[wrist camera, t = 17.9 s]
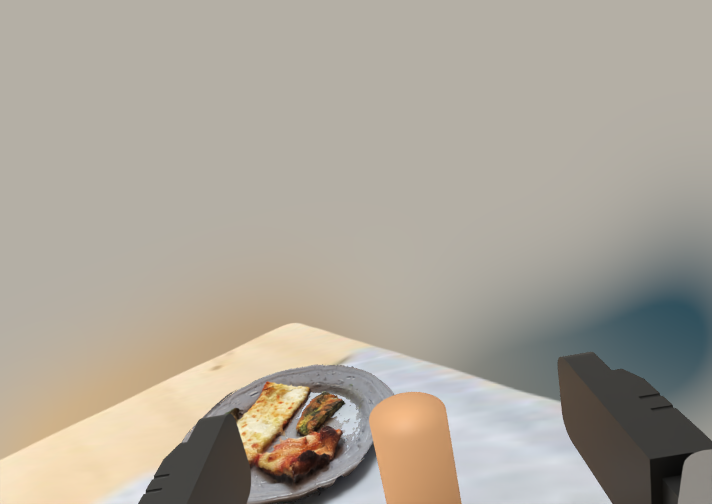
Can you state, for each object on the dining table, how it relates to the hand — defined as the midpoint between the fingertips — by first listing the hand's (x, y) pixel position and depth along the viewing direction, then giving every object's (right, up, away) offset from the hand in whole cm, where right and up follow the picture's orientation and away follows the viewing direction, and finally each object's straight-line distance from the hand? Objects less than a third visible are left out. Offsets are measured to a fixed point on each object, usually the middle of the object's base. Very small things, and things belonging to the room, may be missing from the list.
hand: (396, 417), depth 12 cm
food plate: (-9, -18, +44) cm, 48 cm away
